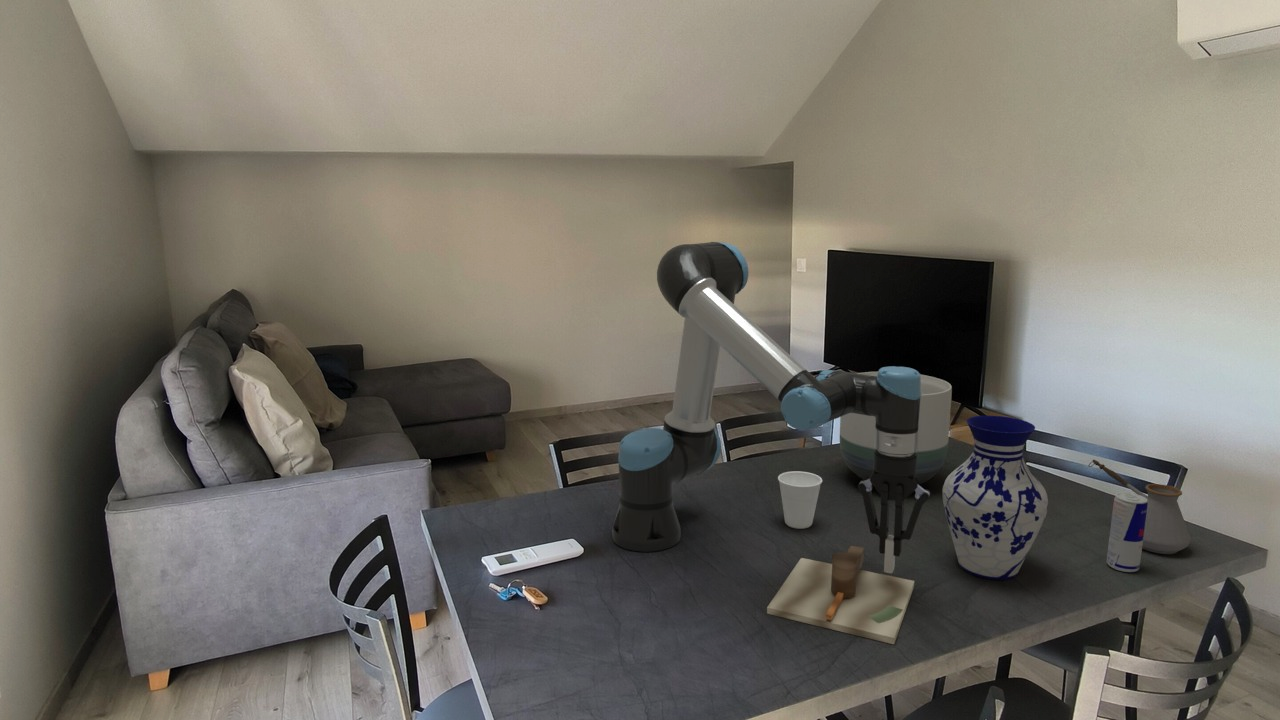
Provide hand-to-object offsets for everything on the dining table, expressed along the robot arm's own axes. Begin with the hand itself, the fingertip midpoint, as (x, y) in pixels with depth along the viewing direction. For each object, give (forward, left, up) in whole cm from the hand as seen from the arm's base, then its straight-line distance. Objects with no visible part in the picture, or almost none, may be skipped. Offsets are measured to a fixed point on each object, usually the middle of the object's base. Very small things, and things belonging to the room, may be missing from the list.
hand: (889, 569), depth 145 cm
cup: (-24, +22, -4) cm, 32 cm away
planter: (-10, +59, -4) cm, 59 cm away
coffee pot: (+43, +47, -4) cm, 64 cm away
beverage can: (+40, +30, -4) cm, 50 cm away
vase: (+16, +18, -4) cm, 24 cm away
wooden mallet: (-7, -8, -2) cm, 11 cm away
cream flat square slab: (-7, -8, -4) cm, 11 cm away
